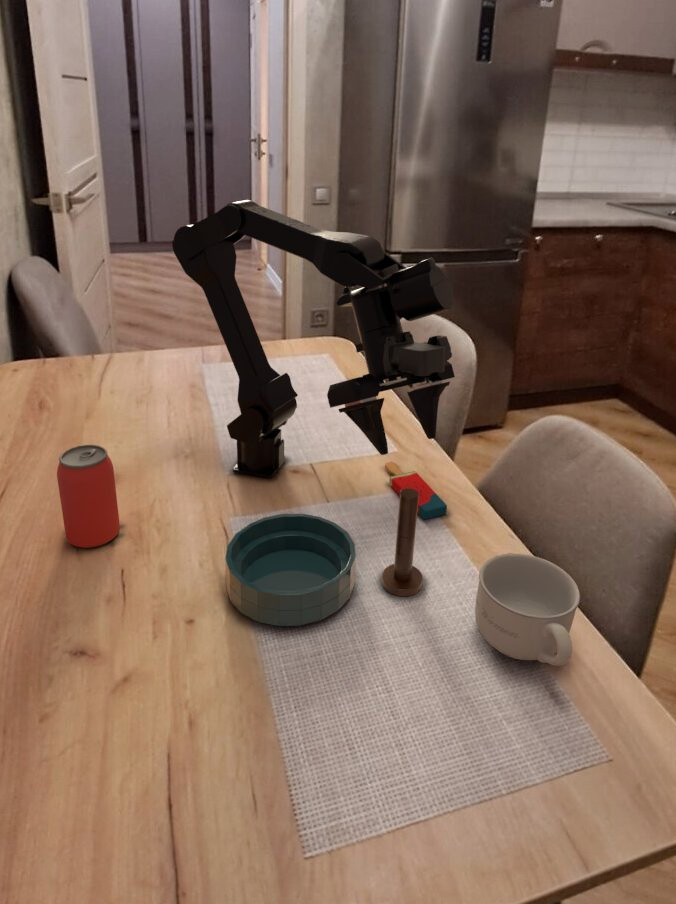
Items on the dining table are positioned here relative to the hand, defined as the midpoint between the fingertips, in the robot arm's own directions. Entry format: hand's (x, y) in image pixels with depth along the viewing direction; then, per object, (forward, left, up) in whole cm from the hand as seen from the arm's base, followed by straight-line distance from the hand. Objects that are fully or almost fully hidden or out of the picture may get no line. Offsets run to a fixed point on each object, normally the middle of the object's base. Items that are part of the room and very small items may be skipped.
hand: (409, 446), depth 87 cm
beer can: (-39, -12, -14) cm, 43 cm away
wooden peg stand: (+2, -10, -13) cm, 17 cm away
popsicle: (-1, +11, -14) cm, 17 cm away
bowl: (-11, -14, -13) cm, 23 cm away
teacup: (+17, -17, -14) cm, 28 cm away
